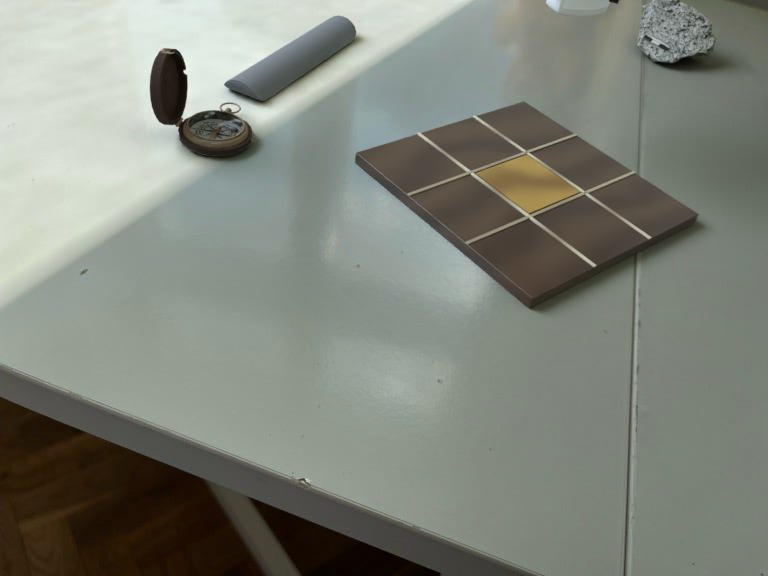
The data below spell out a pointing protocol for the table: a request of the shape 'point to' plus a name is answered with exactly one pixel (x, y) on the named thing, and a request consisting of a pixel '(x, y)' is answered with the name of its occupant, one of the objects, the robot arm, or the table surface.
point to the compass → (202, 129)
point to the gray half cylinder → (294, 59)
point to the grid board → (526, 198)
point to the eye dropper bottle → (578, 7)
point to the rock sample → (674, 31)
